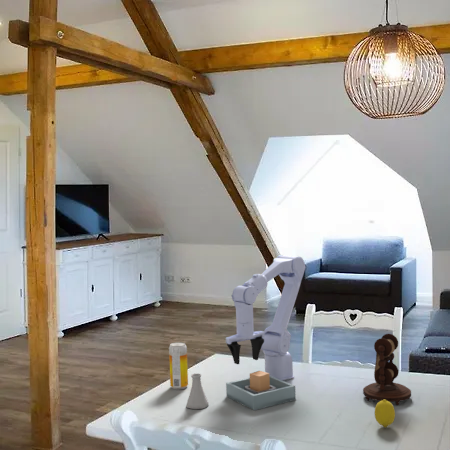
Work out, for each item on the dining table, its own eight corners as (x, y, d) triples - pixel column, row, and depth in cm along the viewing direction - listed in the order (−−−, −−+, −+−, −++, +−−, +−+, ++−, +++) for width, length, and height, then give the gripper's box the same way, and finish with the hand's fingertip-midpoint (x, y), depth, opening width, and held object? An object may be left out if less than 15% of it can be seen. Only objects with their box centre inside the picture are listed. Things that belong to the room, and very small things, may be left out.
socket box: (266, 387, 221) (266, 374, 221) (295, 399, 208) (295, 385, 207) (226, 396, 213) (226, 382, 213) (253, 410, 199) (253, 395, 199)
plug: (260, 391, 213) (259, 370, 213) (269, 394, 210) (269, 373, 210) (250, 395, 210) (249, 373, 210) (260, 398, 207) (259, 376, 207)
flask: (212, 403, 207) (211, 372, 206) (204, 410, 200) (202, 378, 200) (191, 401, 210) (189, 370, 209) (182, 408, 203) (181, 377, 202)
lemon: (372, 424, 185) (371, 396, 184) (391, 423, 185) (390, 395, 185) (378, 431, 180) (378, 403, 179) (398, 430, 180) (397, 402, 179)
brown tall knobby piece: (371, 388, 216) (370, 329, 215) (416, 394, 209) (415, 333, 207) (356, 402, 204) (355, 339, 202) (403, 409, 196) (402, 343, 195)
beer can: (189, 384, 227) (187, 341, 226) (186, 390, 221) (185, 346, 220) (172, 384, 227) (170, 342, 226) (169, 389, 221) (167, 346, 220)
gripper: (255, 316, 226) (256, 355, 227) (220, 322, 218) (221, 362, 219) (267, 320, 220) (268, 359, 221) (231, 326, 212) (233, 367, 213)
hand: (246, 361), depth 219 cm, fingers open, 7 cm apart
